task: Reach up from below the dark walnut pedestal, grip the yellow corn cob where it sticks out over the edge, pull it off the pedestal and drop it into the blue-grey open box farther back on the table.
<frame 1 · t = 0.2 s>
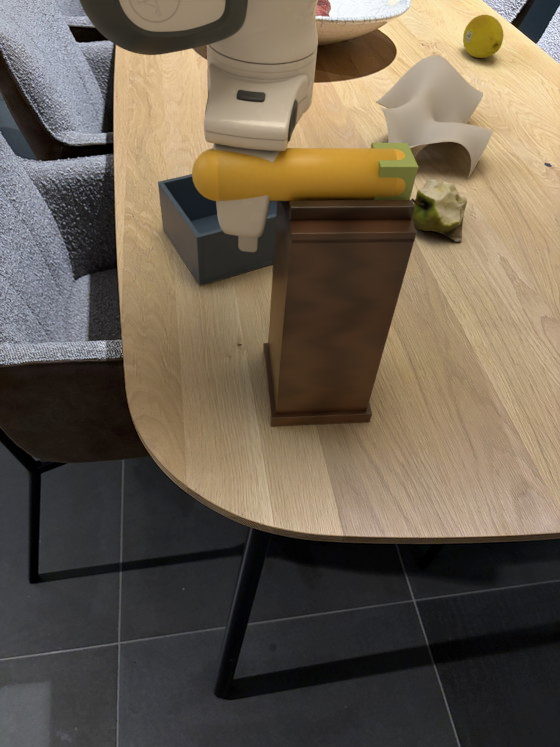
hand: (255, 218, 61), 17 cm above the table, tool pointing down, fingers open, 8 cm apart
sculpture: (424, 139, 108), on the table
fruit: (431, 226, 91), on the table
lemon: (477, 57, 133), on the table
pedestal: (314, 385, 69), on the table
corn cob: (303, 196, 50), point 25 cm above the table, touching pedestal
blue-grey open box: (252, 236, 86), on the table
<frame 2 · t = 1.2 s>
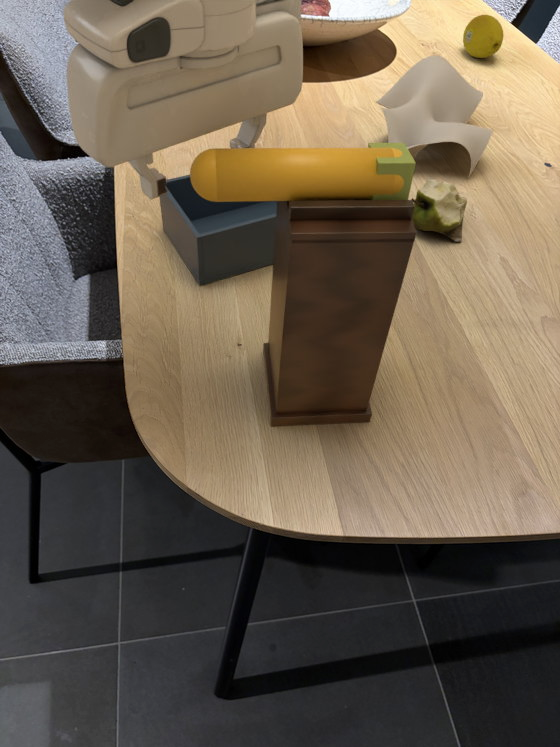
hand: (200, 176, 53), 24 cm above the table, tool pointing down, fingers open, 8 cm apart
nothing on the table moved.
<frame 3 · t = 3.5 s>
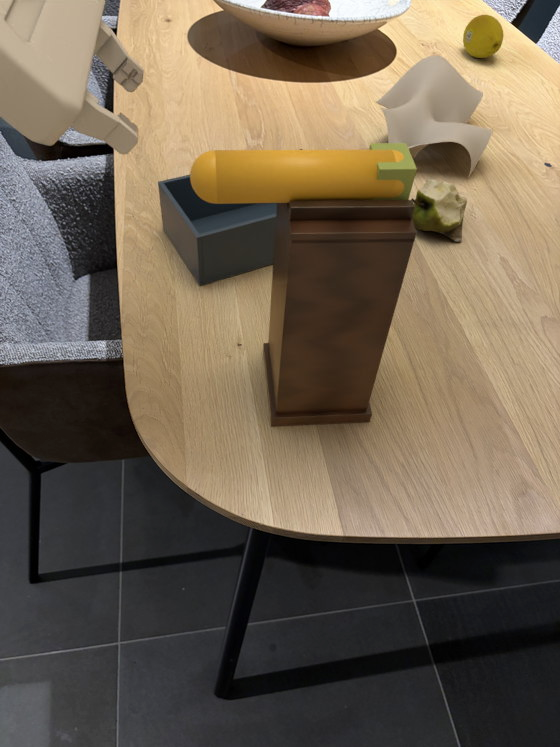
hand: (136, 111, 45), 31 cm above the table, tool tilted 45°, fingers open, 8 cm apart
nothing on the table moved.
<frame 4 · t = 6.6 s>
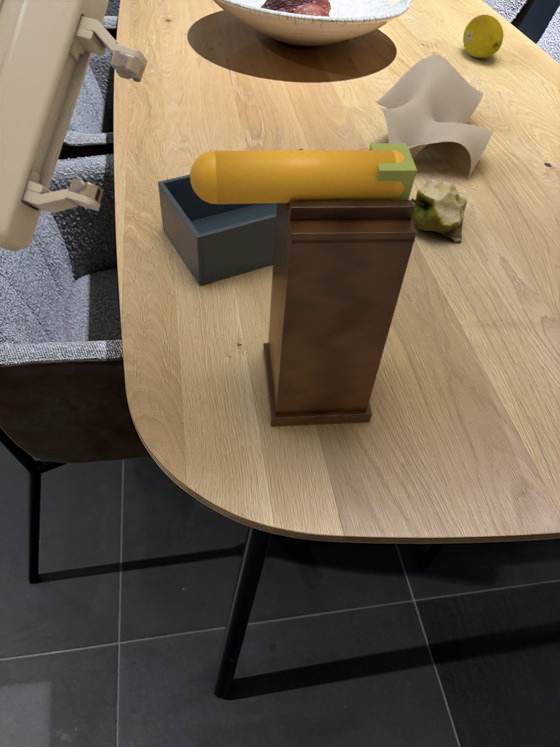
hand: (120, 133, 41), 32 cm above the table, tool horizontal, fingers open, 8 cm apart
nothing on the table moved.
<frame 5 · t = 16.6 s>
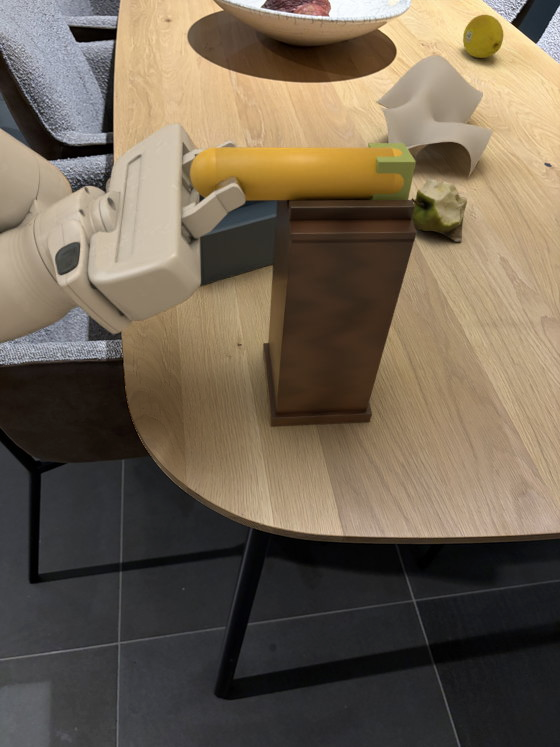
hand: (239, 169, 47), 27 cm above the table, tool pointing upward, fingers closed on corn cob, 4 cm apart
corn cob: (301, 197, 50), point 25 cm above the table, tilted 7°, touching gripper, pedestal
everything else where it was.
when the fingers open (16 cm above the table, at t = 31.3 s): corn cob drops 13 cm, resting on blue-grey open box.
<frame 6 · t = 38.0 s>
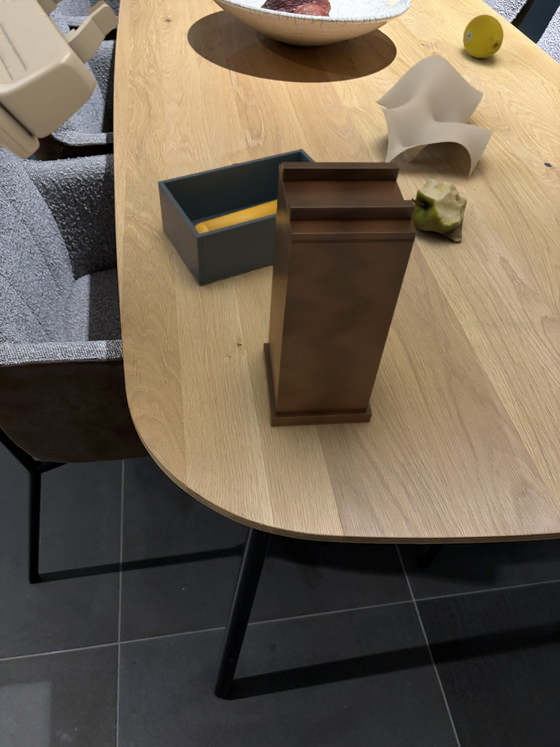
corn cob: (251, 235, 85), point 1 cm above the table, tilted 6°, touching blue-grey open box
everything else where it was.
at the end: corn cob inside the target area in the blue-grey open box (0.9 cm from its centre), point 0.8 cm above the blue-grey open box's base; the gripper is holding nothing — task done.
